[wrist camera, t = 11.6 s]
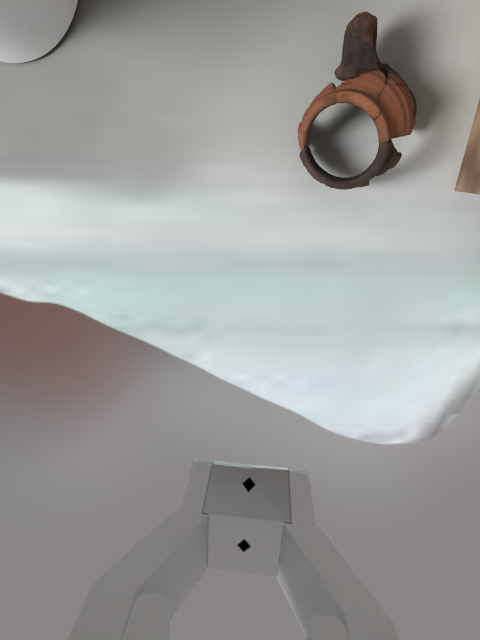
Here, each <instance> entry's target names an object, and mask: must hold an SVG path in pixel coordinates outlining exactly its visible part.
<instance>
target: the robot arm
mask: <svg viewBox="0 0 480 640" xmlns="http://www.w3.org/2000/svg"><path fill="white" fill-rule="evenodd" d="M77 2H78V0H0V61H1V62H7V63H23V62H28V61H32V60H34V59H37V58H39V57H41V56H43V55H45V54H46V53H48V52H49V51H50V50H51V49H53V48H54V47H55V46H56V45H57V44H58V43H59V41H60V40H61V39H62V38H63V36H64V35H65V33H66V31H67V30H68V28H69V26H70V24H71V21H72V19H73V16H74V14H75V10H76V7H77ZM242 565H243V566H242ZM207 568H215V569H225V570H236V571H246V572H252V573H258V574H265V575H271V576H277V580H278V582H279V584H280V585H281V588H282V590H283V592H284V594H285V596H286V598H287V600H288V602H289V604H290V606H291V608H292V610H293V612H294V614H295V616H296V618H297V620H298V622H299V625H300V627H301V628H302V631H303V632H304V635H305V637H306V640H399V639H398V635H397V631H396V627H395V623H394V622H393V620H392V619H391V618H390V616H389V615H388V614H387V613H386V611H385V610H384V609H383V607H382V606H381V605H380V603H379V602H378V601H377V600H376V598H375V597H374V596H373V595H372V593H371V592H370V591H369V589H368V588H367V587H366V585H365V584H364V583H363V581H362V580H361V579H360V577H359V576H358V575H357V574H356V572H355V571H354V570H353V568H352V567H351V566H350V564H349V563H348V562H347V560H346V559H345V558H344V557H343V555H342V554H341V553H340V551H339V550H338V549H337V547H336V546H335V545H334V544H333V542H332V541H331V540H330V539H329V537H328V536H327V534H326V533H325V532H324V531H323V529H322V528H320V527H315V521H314V513H313V504H312V496H311V487H310V477H309V472H308V471H307V470H301V469H291V468H280V467H269V466H258V465H247V464H238V463H231V462H223V461H216V460H214V461H212V460H205V459H197V458H195V459H194V461H193V463H192V466H191V469H190V473H189V476H188V480H187V483H186V487H185V491H184V494H183V498H182V502H181V505H180V509H179V511H172V512H171V513H170V514H169V515H168V516H166V517H165V518H164V519H163V520H162V521H161V522H160V523H159V524H158V525H156V526H155V527H154V528H153V529H152V530H151V531H150V532H149V533H148V534H146V535H145V536H144V537H143V538H142V539H141V540H140V541H139V542H138V543H136V544H135V545H134V546H133V547H132V548H131V549H130V550H129V551H128V552H127V553H125V554H124V555H123V556H122V557H121V558H120V559H119V560H118V561H117V562H115V563H114V564H113V565H112V566H111V567H110V568H109V569H108V570H107V571H105V572H104V573H103V574H102V575H101V576H100V577H99V578H98V579H97V580H95V581H94V582H93V583H92V585H91V588H90V590H89V592H88V595H87V597H86V599H85V601H84V603H83V606H82V608H81V610H80V612H79V615H78V617H77V619H76V621H75V624H74V626H73V628H72V631H71V633H70V635H69V637H68V640H170V620H171V618H172V617H173V616H174V614H175V613H176V612H177V610H178V609H179V608H180V606H181V605H182V604H183V602H184V601H185V599H186V598H187V597H188V595H189V594H190V593H191V591H192V590H193V589H194V587H195V586H196V585H197V583H198V582H199V581H200V579H201V578H202V577H203V575H204V574H205V572H206V571H207Z"/></svg>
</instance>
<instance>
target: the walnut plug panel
mask: <svg viewBox="0 0 480 640" xmlns="http://www.w3.org/2000/svg"><path fill="white" fill-rule="evenodd" d="M455 191H460V192H467V193H474V194H480V101H479V104H478V108H477V111H476V115H475V119H474V122H473V126H472V129H471V133H470V137H469V140H468V144H467V148H466V151H465V155H464V158H463V162H462V166H461V169H460V173H459V176H458V180H457V184H456V187H455Z"/></svg>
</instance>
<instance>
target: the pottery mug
mask: <svg viewBox="0 0 480 640" xmlns="http://www.w3.org/2000/svg"><path fill="white" fill-rule="evenodd" d="M376 39H377V17H375V16H373V15H371V14H370V13H368V12H363V13H359V14H357V15H356V16H355V17H354V18H353V20H352V21H350V22H349V24H348V25H347V28H346V31H345V36H344V43H343V51H342V61H341V64H340V66H339V67H338V68H337V69H336V70H335V76H336V77H337V79H339V80H341V81H345V80H346V81H345V82H343V83H341V85H340V86H338V87H335V85H334V84H333V83H330V84H329V85H328V86H327V87H326V88H324V89H323V90H322V91H321V92H320V94H319V95H317V96H316V97H315V99H314V100H313V101H312V103H311V104H310V106H309V108H308V109H307V110H306V112H305V114H304V116H303V119H302V122H301V123H300V124H299V127H298V140H299V145H300V148H301V152H300V158H301V160H302V163H303V165H304V166H305V167H306V169H307V171H308V172H309V173H310V175H311V176H312V177H313V178H314V179H316V180H317V181H319V182H320V183H324V184H325V185H326V186H329V187H331V188H336V189H352V188H355V187H364V186H368V185H369V180H370V179H371V178H373V177H374V176H379V175H381V174H384V173H385V172H386V171H387V170H389V169H391V168H393V167H395V166H396V164H397V163H398V162H399V160H400V158H401V156H402V154H401V153H400V152H397V150H396V149H395V147H394V145H393V143H392V141H391V139H392V138H397V137H400V136H406V135H410V134H411V132H412V130H413V127H414V124H415V117H416V108H417V107H416V101H415V98H414V95H413V94H412V92H411V90H410V89H409V88H408V86H407V85H406V83H405V82H404V81H403V79H402V78H401V77H400V76H399V75H398V73H397V72H395V71H394V70H393V69H392V68H391V67H390V66H389V65H388V64H382V63H381V62H380V61H379V59H378V56H377V53H376ZM336 103H349V104H353V105H356V106H358V107H360V108H362V109H363V110H364V111H366V112H367V113H368V114H369V115H370V117H371V118H372V119H373V121H374V123H375V125H376V127H377V131H378V136H379V148H378V152H377V155H376V158H375V160H374V161H373V163H372V164H371V165H370V167H369V168H368V169H367V170H366V171H364V172H363V173H362V174H359V175H357V176H354V177H349V178H341V177H336V176H333V175H331V174H329V173H327V172H326V171H324V170H323V169H322V168H321V167H320V166H319V165H318V164H317V163H316V161H315V159H314V157H313V155H312V153H311V150H310V148H309V145H308V132H309V131H310V129H311V126H312V124H313V122H314V120H315V118H316V117H317V116H318V114H319V113H320V112H321V111H323V110H324V109H325V108H327V107H329V106H331V105H334V104H336Z"/></svg>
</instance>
